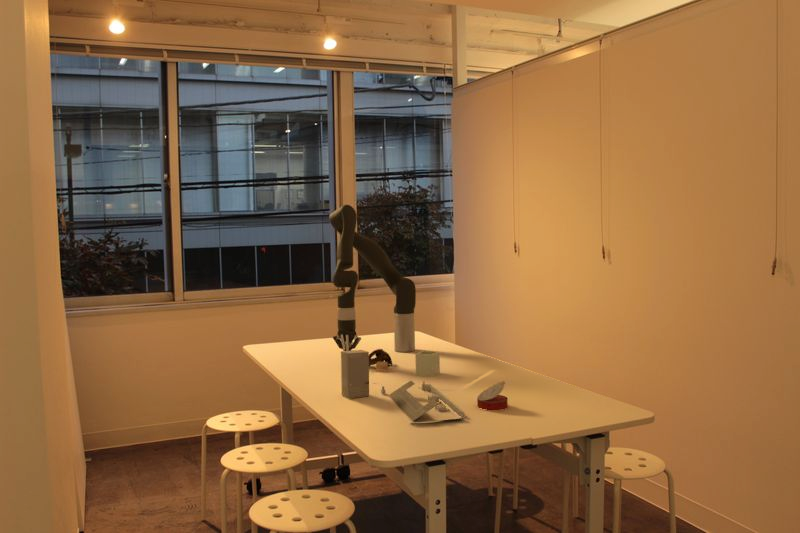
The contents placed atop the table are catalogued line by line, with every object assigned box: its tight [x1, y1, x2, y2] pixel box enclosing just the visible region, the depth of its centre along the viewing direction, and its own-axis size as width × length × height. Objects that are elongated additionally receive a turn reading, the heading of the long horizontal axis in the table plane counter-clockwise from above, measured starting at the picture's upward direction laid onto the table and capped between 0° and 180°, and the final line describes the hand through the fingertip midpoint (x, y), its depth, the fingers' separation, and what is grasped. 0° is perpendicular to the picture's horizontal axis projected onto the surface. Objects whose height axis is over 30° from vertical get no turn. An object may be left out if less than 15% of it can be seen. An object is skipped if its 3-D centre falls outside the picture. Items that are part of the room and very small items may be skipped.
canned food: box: [476, 381, 509, 411], centre depth 255 cm, size 11×10×10 cm
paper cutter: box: [380, 380, 467, 424], centre depth 257 cm, size 18×45×6 cm, turn 13°
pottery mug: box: [369, 348, 394, 368], centre depth 323 cm, size 12×10×8 cm
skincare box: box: [340, 349, 370, 399], centre depth 273 cm, size 8×7×16 cm
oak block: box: [375, 361, 389, 373], centre depth 310 cm, size 4×4×4 cm
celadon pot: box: [414, 350, 441, 377], centre depth 302 cm, size 7×7×9 cm
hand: (347, 358), depth 329 cm, fingers closed
